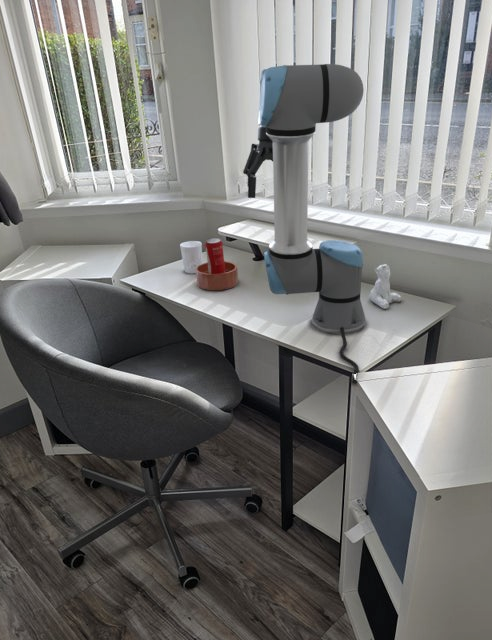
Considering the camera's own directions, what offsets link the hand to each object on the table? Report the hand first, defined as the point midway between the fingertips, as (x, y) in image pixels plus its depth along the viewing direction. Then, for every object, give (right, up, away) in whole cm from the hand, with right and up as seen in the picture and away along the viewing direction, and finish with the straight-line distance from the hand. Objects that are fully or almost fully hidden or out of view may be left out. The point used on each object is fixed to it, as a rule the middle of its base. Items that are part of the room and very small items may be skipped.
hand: (266, 199), depth 177 cm
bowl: (-17, -25, +12) cm, 33 cm away
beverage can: (-17, -25, +12) cm, 32 cm away
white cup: (-27, -17, +25) cm, 41 cm away
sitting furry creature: (+37, -35, -7) cm, 51 cm away
